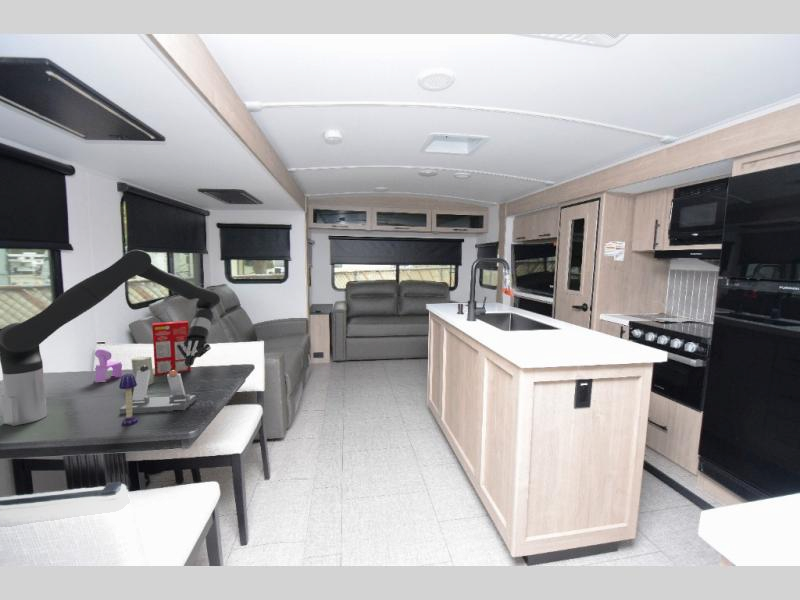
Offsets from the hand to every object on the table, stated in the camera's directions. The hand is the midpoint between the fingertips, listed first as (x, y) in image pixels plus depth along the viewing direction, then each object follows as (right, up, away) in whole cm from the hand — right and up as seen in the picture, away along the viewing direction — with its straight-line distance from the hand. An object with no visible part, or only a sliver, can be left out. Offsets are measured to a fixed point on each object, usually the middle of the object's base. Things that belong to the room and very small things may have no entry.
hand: (188, 365), depth 137 cm
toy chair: (-51, -11, +22) cm, 56 cm away
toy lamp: (-6, -15, -22) cm, 28 cm away
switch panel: (-5, -14, -9) cm, 17 cm away
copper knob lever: (+2, -11, -8) cm, 14 cm away
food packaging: (-29, -10, +34) cm, 46 cm away
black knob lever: (-12, -11, -10) cm, 20 cm away
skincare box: (-30, -12, +15) cm, 35 cm away
